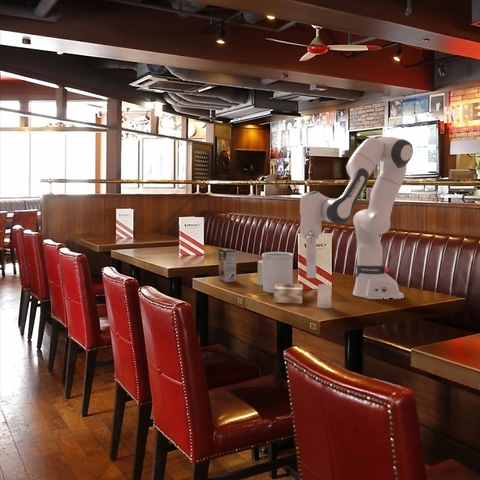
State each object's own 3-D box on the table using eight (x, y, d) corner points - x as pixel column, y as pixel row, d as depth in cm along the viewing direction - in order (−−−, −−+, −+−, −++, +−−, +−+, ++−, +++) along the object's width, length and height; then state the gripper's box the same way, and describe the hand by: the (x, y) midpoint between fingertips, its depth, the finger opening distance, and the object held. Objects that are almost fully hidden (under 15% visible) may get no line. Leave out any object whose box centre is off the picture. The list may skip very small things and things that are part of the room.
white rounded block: (330, 305, 229) (331, 284, 228) (331, 308, 224) (331, 286, 223) (317, 305, 230) (317, 283, 229) (317, 308, 224) (317, 286, 223)
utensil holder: (265, 294, 251) (266, 256, 249) (258, 287, 266) (258, 252, 264) (296, 293, 254) (297, 255, 252) (287, 287, 269) (288, 251, 267)
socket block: (302, 297, 245) (302, 284, 244) (302, 303, 233) (302, 289, 232) (275, 296, 246) (275, 283, 245) (273, 302, 234) (274, 288, 233)
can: (276, 286, 271) (276, 262, 269) (257, 285, 271) (257, 261, 270) (275, 282, 280) (275, 259, 279) (257, 282, 280) (257, 259, 279)
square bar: (316, 276, 235) (315, 248, 234) (316, 277, 231) (315, 249, 230) (306, 276, 236) (306, 248, 234) (306, 277, 232) (306, 249, 230)
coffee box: (218, 279, 288) (218, 248, 287) (229, 278, 291) (229, 248, 289) (225, 282, 280) (225, 250, 278) (236, 281, 283) (236, 250, 281)
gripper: (318, 232, 221) (319, 266, 222) (318, 227, 241) (318, 258, 242) (303, 232, 221) (303, 266, 223) (303, 228, 242) (304, 259, 243)
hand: (311, 262), depth 233 cm, fingers closed on square bar, 4 cm apart
